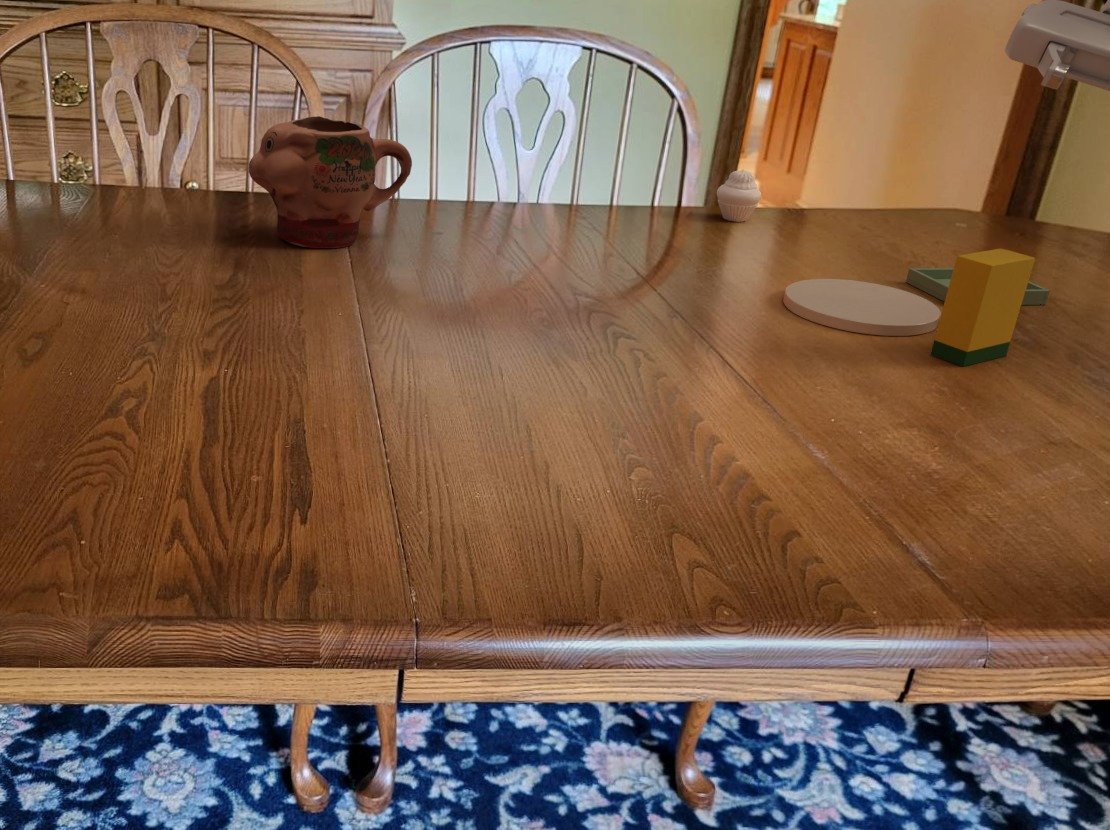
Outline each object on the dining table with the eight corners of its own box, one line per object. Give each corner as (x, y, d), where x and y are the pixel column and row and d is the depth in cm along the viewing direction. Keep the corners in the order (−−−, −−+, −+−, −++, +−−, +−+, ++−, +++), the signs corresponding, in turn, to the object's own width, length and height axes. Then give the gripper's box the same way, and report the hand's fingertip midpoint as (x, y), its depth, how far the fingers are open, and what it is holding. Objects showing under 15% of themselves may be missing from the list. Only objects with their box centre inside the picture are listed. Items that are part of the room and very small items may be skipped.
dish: (994, 281, 133) (998, 267, 133) (1045, 304, 125) (1050, 290, 125) (905, 282, 131) (909, 268, 130) (952, 306, 123) (956, 291, 122)
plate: (932, 301, 125) (934, 291, 124) (944, 345, 111) (947, 334, 110) (785, 281, 129) (787, 271, 128) (780, 321, 115) (782, 310, 115)
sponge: (973, 344, 112) (1000, 248, 107) (1006, 356, 109) (1035, 257, 105) (930, 354, 108) (956, 255, 104) (963, 366, 105) (991, 265, 101)
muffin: (766, 222, 155) (775, 172, 152) (735, 226, 152) (744, 175, 149) (733, 212, 160) (741, 163, 157) (703, 215, 157) (711, 166, 154)
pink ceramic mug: (387, 222, 145) (392, 113, 139) (423, 246, 135) (430, 130, 129) (238, 230, 137) (236, 115, 131) (265, 256, 127) (264, 133, 121)
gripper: (1046, -31, 106) (1003, 27, 98) (1280, 37, 98) (1253, 105, 91) (1017, 31, 110) (974, 90, 103) (1239, 100, 103) (1209, 169, 95)
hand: (1107, 98), depth 97 cm, fingers open, 8 cm apart
